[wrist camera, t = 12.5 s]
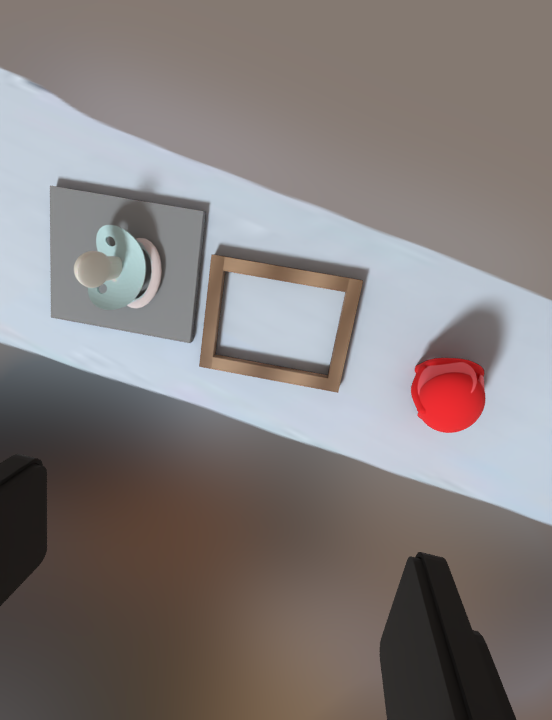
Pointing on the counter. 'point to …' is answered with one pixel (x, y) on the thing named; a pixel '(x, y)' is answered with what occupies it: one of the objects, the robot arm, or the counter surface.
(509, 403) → the counter surface
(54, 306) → the slate mat
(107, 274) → the pacifier
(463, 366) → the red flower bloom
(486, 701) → the robot arm
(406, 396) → the counter surface
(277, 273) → the pocket frame
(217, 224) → the counter surface
